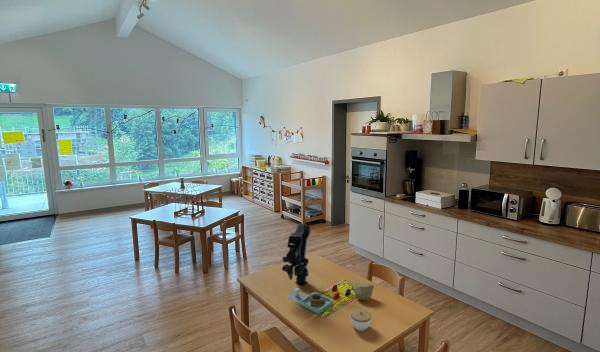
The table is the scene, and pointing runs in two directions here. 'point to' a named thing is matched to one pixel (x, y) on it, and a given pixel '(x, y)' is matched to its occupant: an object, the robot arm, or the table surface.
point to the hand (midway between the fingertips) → (295, 277)
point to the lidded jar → (360, 319)
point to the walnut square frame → (316, 300)
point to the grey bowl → (362, 290)
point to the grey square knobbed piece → (296, 295)
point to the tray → (317, 310)
